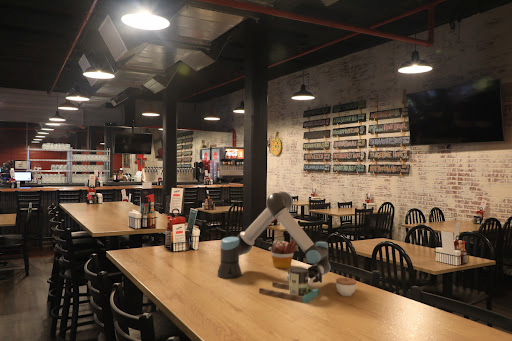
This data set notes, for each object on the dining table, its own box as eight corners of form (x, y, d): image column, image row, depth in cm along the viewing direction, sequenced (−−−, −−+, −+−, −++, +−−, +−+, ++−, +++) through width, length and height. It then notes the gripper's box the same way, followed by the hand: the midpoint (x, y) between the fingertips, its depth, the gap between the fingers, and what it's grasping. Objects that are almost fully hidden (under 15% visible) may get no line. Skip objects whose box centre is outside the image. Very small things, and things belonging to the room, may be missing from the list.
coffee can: (308, 293, 214) (309, 267, 214) (307, 299, 204) (307, 272, 204) (290, 292, 216) (290, 266, 216) (287, 298, 206) (288, 271, 206)
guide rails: (259, 293, 214) (259, 288, 214) (273, 285, 227) (273, 281, 227) (306, 303, 199) (306, 298, 199) (318, 294, 212) (318, 290, 212)
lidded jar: (341, 298, 207) (341, 280, 207) (332, 292, 217) (332, 275, 217) (359, 296, 210) (360, 279, 210) (349, 290, 220) (350, 274, 220)
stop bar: (302, 302, 200) (302, 296, 200) (315, 294, 214) (315, 288, 213) (306, 303, 199) (306, 297, 199) (318, 294, 212) (318, 289, 212)
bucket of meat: (264, 265, 274) (264, 237, 274) (280, 262, 285) (281, 234, 285) (284, 271, 259) (285, 241, 259) (301, 267, 270) (301, 238, 270)
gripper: (335, 281, 220) (319, 291, 202) (295, 274, 234) (277, 283, 216) (335, 268, 220) (320, 277, 202) (295, 262, 234) (278, 269, 216)
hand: (298, 280), depth 209 cm, fingers open, 13 cm apart
